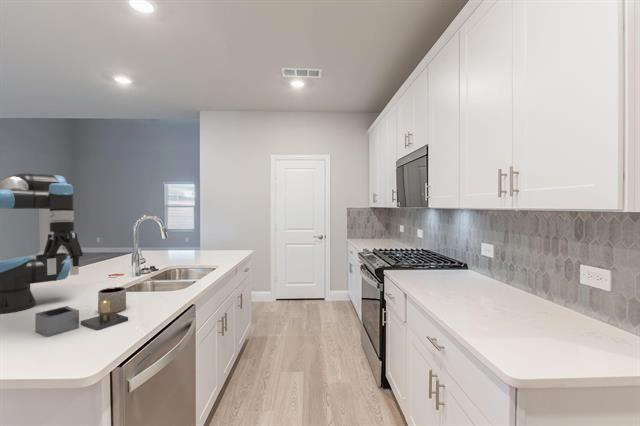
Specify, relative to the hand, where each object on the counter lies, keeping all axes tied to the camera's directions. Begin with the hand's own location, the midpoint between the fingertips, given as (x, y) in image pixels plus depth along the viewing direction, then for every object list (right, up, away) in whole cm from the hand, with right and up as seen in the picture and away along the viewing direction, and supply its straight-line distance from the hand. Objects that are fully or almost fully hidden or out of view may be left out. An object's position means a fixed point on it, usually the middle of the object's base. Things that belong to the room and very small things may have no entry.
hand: (62, 274), depth 125 cm
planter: (+7, -21, +20) cm, 29 cm away
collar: (0, -21, -3) cm, 21 cm away
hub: (+14, -21, +5) cm, 25 cm away
